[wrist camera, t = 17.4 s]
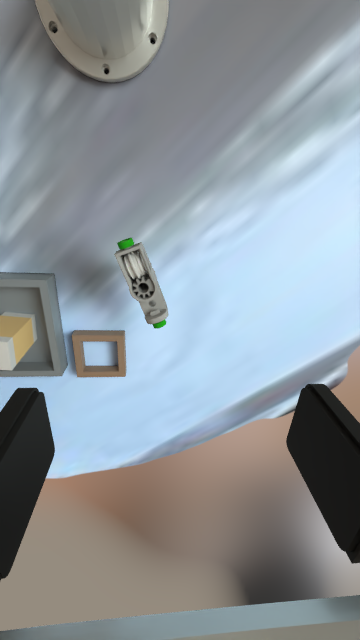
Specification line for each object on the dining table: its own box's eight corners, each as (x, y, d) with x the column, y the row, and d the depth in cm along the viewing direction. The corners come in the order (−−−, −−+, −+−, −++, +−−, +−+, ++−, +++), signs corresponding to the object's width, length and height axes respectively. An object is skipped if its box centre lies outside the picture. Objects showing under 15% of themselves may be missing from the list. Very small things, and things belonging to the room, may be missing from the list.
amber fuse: (4, 311, 38) (-30, 339, 31) (34, 314, 39) (7, 342, 32) (8, 336, 40) (-24, 368, 33) (37, 338, 41) (11, 370, 33)
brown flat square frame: (74, 330, 41) (71, 335, 40) (124, 330, 42) (123, 335, 40) (79, 371, 44) (77, 377, 43) (126, 370, 45) (125, 376, 44)
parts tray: (-32, 271, 36) (-47, 277, 34) (54, 273, 37) (46, 280, 35) (-5, 365, 43) (-16, 376, 40) (67, 364, 44) (62, 376, 41)
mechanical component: (149, 301, 40) (148, 332, 31) (120, 233, 36) (109, 247, 27) (168, 294, 40) (172, 324, 31) (141, 225, 36) (137, 237, 27)
